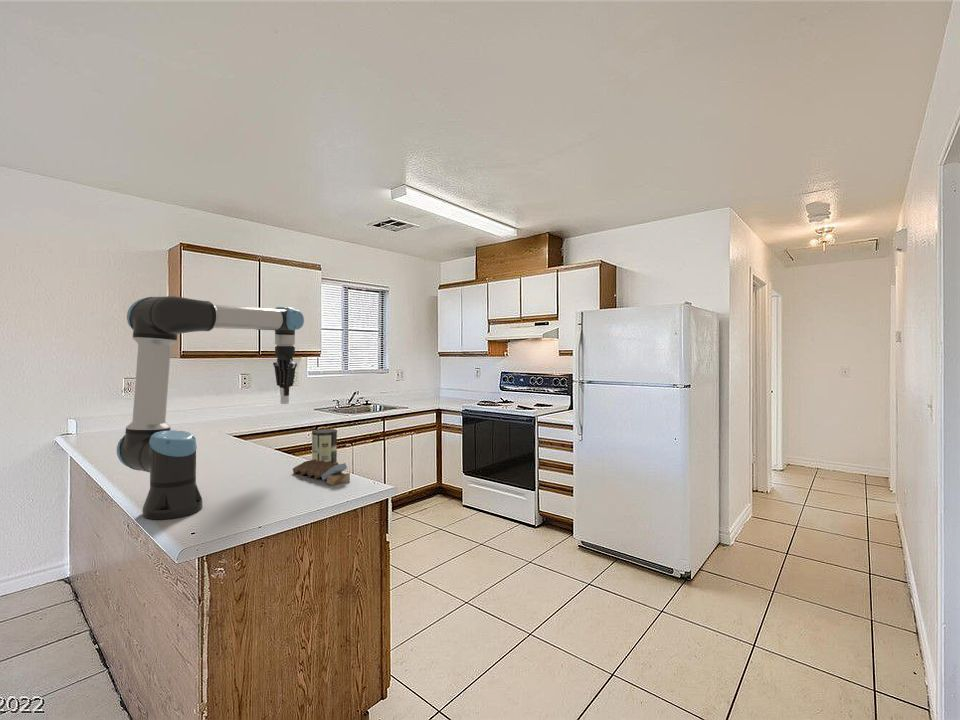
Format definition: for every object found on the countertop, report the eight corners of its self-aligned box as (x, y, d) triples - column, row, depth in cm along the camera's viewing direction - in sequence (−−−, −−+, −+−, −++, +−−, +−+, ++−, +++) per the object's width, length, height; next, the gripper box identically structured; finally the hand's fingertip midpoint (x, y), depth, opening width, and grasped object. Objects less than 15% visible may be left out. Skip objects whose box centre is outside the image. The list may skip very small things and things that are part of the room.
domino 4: (326, 476, 186) (339, 467, 182) (315, 479, 182) (328, 469, 178) (324, 471, 187) (337, 462, 183) (313, 474, 183) (326, 464, 178)
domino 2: (312, 472, 191) (325, 465, 187) (301, 475, 187) (314, 467, 183) (310, 468, 192) (323, 460, 187) (299, 470, 188) (312, 462, 183)
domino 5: (333, 477, 184) (347, 468, 180) (322, 480, 180) (336, 470, 175) (332, 472, 185) (345, 463, 180) (320, 475, 180) (334, 465, 176)
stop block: (332, 485, 175) (332, 477, 174) (326, 484, 176) (326, 475, 176) (349, 480, 181) (349, 472, 181) (344, 479, 183) (344, 471, 183)
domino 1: (304, 471, 194) (317, 464, 189) (293, 473, 190) (306, 466, 185) (303, 466, 195) (316, 459, 190) (292, 468, 190) (305, 461, 186)
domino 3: (319, 474, 189) (332, 465, 184) (308, 477, 185) (321, 468, 180) (318, 470, 189) (331, 461, 185) (307, 472, 185) (320, 463, 181)
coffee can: (328, 459, 214) (329, 427, 214) (341, 463, 207) (341, 430, 207) (306, 463, 207) (307, 430, 206) (319, 467, 199) (319, 433, 199)
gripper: (302, 345, 196) (302, 404, 197) (283, 345, 203) (283, 401, 204) (286, 345, 190) (285, 405, 190) (267, 345, 197) (266, 403, 198)
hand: (284, 403), depth 197 cm, fingers closed
